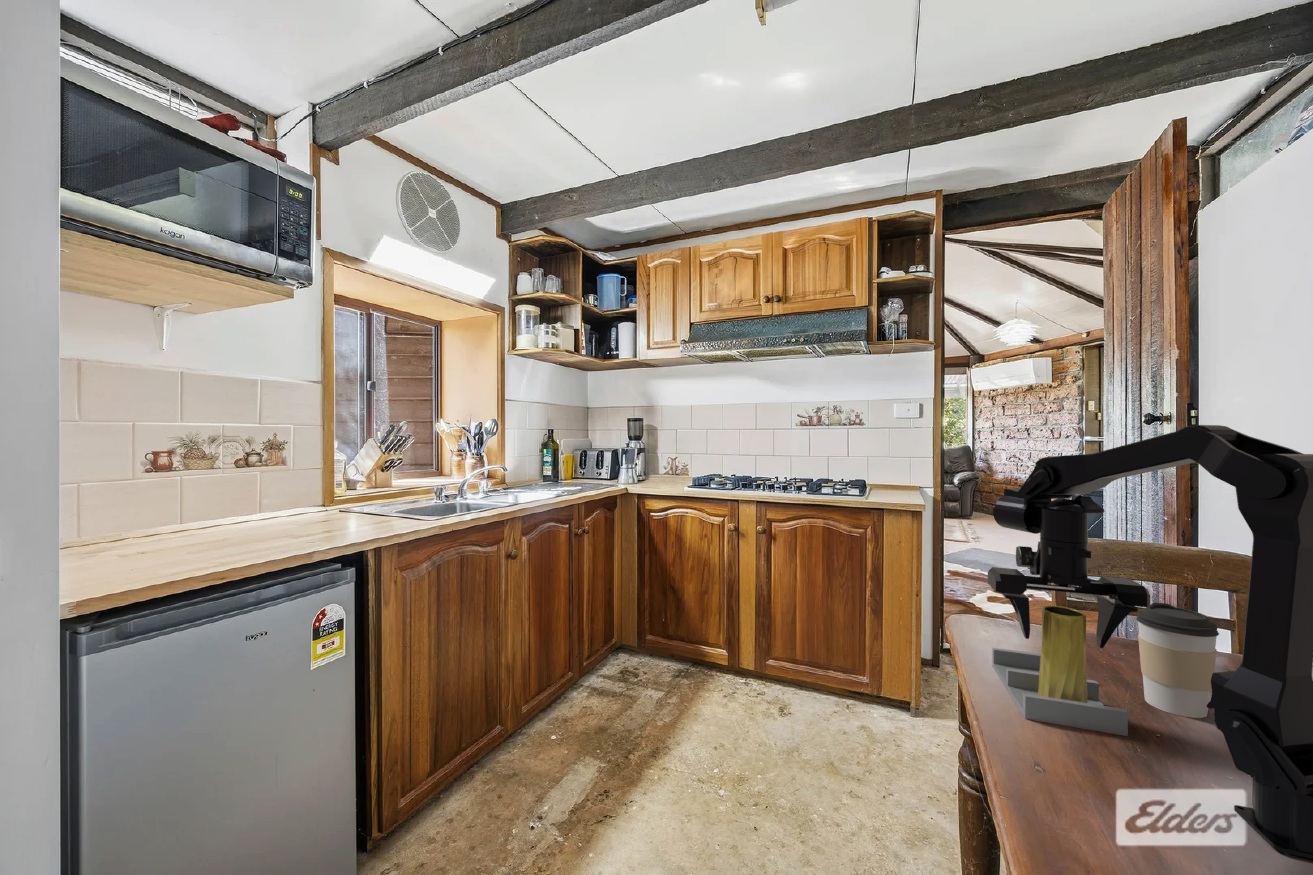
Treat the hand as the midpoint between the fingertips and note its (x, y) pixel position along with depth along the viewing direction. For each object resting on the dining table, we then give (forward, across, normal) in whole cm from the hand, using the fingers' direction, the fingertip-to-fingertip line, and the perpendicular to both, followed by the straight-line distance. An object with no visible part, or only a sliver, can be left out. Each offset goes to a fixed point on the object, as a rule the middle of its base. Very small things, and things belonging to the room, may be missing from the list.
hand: (1062, 642), depth 79 cm
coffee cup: (+10, -17, -8) cm, 22 cm away
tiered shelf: (+10, 0, -4) cm, 11 cm away
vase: (+10, 0, 0) cm, 10 cm away
